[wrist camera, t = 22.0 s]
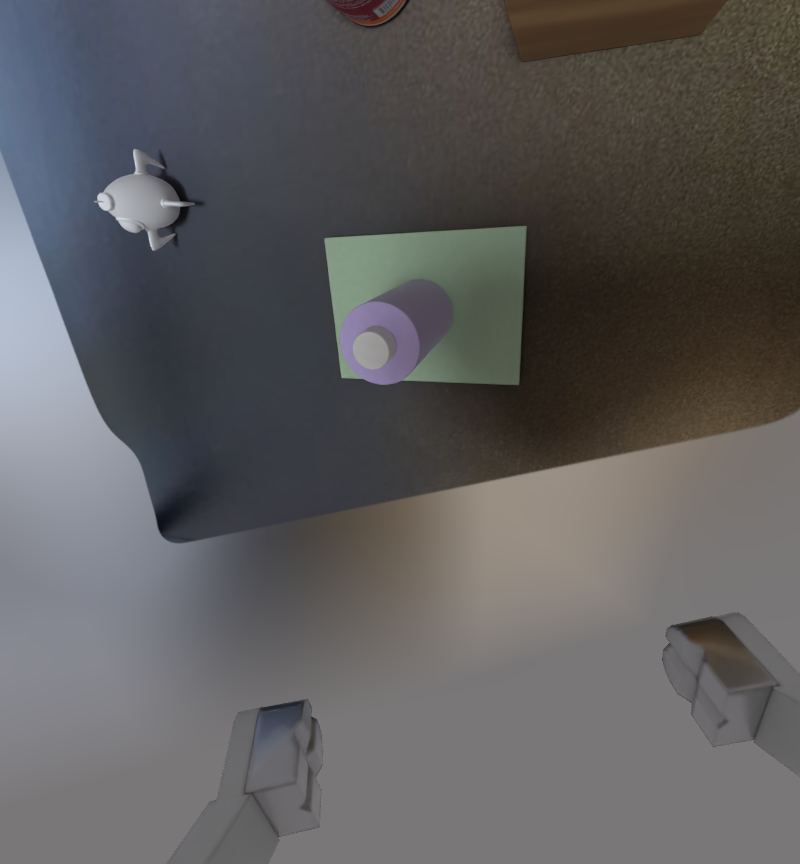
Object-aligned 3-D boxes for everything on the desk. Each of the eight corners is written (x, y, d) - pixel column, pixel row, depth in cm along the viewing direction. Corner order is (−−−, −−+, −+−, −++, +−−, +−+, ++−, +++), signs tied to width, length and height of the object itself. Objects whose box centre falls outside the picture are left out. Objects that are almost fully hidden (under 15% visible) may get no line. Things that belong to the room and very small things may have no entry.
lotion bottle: (461, 290, 36) (423, 322, 26) (442, 354, 39) (400, 404, 29) (398, 270, 37) (337, 293, 27) (383, 333, 40) (323, 376, 30)
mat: (527, 225, 33) (526, 225, 33) (519, 383, 38) (518, 385, 38) (327, 237, 38) (324, 237, 38) (344, 376, 43) (341, 378, 43)
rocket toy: (179, 247, 43) (107, 256, 36) (137, 199, 42) (55, 199, 35) (208, 204, 40) (136, 204, 33) (163, 151, 39) (80, 141, 33)
